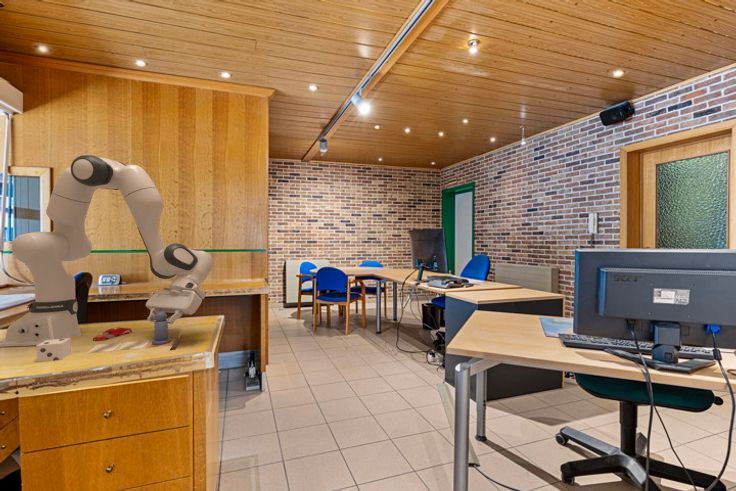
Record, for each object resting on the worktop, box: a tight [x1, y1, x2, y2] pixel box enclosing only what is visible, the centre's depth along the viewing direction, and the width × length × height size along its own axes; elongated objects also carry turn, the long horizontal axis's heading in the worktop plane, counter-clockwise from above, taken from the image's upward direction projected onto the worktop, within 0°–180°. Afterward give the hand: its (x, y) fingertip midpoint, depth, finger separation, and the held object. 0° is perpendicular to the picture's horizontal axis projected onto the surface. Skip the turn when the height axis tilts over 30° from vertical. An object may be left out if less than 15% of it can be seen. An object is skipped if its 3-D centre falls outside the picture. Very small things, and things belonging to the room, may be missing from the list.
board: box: [86, 336, 181, 354], centre depth 118 cm, size 26×12×1 cm, turn 110°
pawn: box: [151, 312, 172, 345], centre depth 121 cm, size 6×6×11 cm
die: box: [35, 337, 72, 363], centre depth 106 cm, size 6×6×6 cm
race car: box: [92, 326, 133, 342], centre depth 129 cm, size 13×5×4 cm, turn 163°
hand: (159, 321), depth 120 cm, fingers open, 7 cm apart
